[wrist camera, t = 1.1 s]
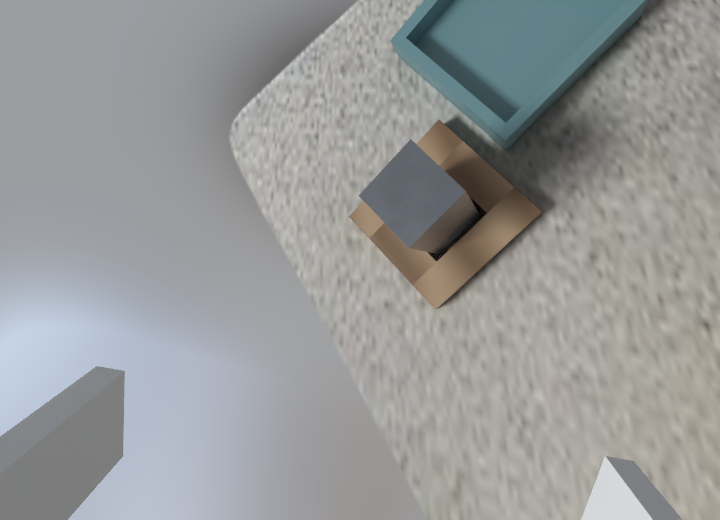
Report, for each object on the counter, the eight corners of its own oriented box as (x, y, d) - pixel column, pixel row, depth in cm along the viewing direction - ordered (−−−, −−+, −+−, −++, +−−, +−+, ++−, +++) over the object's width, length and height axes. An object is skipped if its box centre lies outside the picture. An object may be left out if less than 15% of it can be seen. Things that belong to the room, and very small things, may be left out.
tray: (509, -72, 36) (509, -101, 33) (640, 16, 32) (652, -8, 29) (399, 57, 39) (390, 40, 36) (506, 150, 36) (505, 140, 33)
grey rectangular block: (440, 178, 37) (410, 139, 26) (479, 215, 36) (465, 191, 25) (403, 217, 39) (358, 195, 27) (439, 254, 37) (408, 248, 26)
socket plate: (441, 125, 38) (439, 119, 36) (540, 214, 34) (541, 211, 33) (354, 218, 40) (349, 216, 39) (438, 308, 37) (435, 309, 36)
